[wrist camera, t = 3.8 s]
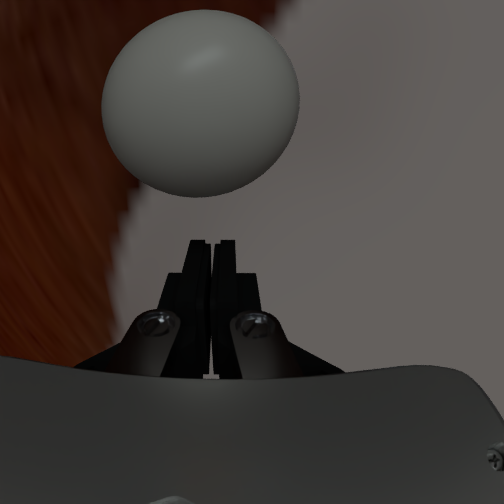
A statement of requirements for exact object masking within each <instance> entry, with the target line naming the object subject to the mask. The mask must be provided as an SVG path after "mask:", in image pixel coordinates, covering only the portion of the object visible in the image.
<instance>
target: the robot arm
mask: <svg viewBox="0 0 504 504" xmlns="http://www.w3.org/2000/svg"><path fill="white" fill-rule="evenodd" d="M211 339H212V354H213V355H212V356H213V371H214V374H219V379H203V374H209V363H210V343H211ZM0 504H504V420H503V418H502V417H501V415H500V413H499V412H498V410H497V409H496V407H495V406H494V404H493V403H492V401H491V400H490V398H489V397H488V396H487V394H486V393H485V392H484V391H483V389H482V388H481V387H480V386H479V385H478V384H477V383H476V382H475V381H474V380H473V379H472V378H471V377H469V376H468V375H467V374H465V373H463V372H461V371H458V370H455V369H451V368H446V367H439V366H432V365H410V366H397V367H389V368H381V369H372V370H363V371H355V372H344V371H342V370H341V369H339V368H338V367H336V366H334V365H332V364H330V363H328V362H326V361H324V360H322V359H320V358H318V357H316V356H314V355H313V354H311V353H309V352H307V351H305V350H303V349H302V348H300V347H298V346H296V345H294V344H292V343H291V342H289V341H288V340H287V338H286V335H285V333H284V331H283V329H282V327H281V324H280V322H279V321H278V320H277V318H276V317H274V316H273V315H272V314H270V313H267V312H264V311H262V310H261V303H260V297H259V290H258V284H257V277H256V273H236V254H235V240H221V243H220V244H215V248H214V259H213V270H212V273H211V244H205V240H191V241H190V244H189V247H188V251H187V255H186V258H185V262H184V266H183V270H182V273H169V274H168V276H167V279H166V282H165V285H164V288H163V291H162V294H161V298H160V301H159V304H158V307H157V309H154V310H149V311H146V312H143V313H142V314H140V315H139V316H137V317H136V318H135V320H134V321H133V323H132V324H131V326H130V328H129V329H128V331H127V333H126V334H125V336H124V338H123V339H122V341H121V342H120V343H118V344H117V345H115V346H113V347H111V348H109V349H107V350H105V351H103V352H101V353H99V354H97V355H95V356H93V357H91V358H89V359H87V360H85V361H83V362H81V363H79V364H77V365H76V366H74V367H67V366H61V365H56V364H50V363H45V362H40V361H34V360H28V359H22V358H17V357H11V356H1V355H0Z"/></svg>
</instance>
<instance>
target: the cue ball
mask: <svg viewBox="0 0 504 504" xmlns="http://www.w3.org/2000/svg"><path fill="white" fill-rule="evenodd" d="M299 101H300V96H299V87H298V81H297V77H296V73H295V70H294V68H293V65H292V63H291V61H290V59H289V57H288V56H287V54H286V52H285V51H284V49H283V48H282V46H281V45H280V44H279V43H278V41H277V40H276V39H275V38H274V37H273V36H272V35H270V34H269V33H268V32H267V31H266V30H265V29H263V28H262V27H260V26H259V25H257V24H256V23H254V22H252V21H250V20H248V19H246V18H244V17H241V16H238V15H235V14H232V13H227V12H223V11H215V10H193V11H186V12H181V13H177V14H174V15H171V16H168V17H165V18H163V19H161V20H158V21H156V22H154V23H153V24H151V25H149V26H148V27H146V28H145V29H143V30H142V31H140V32H139V33H138V34H137V35H136V36H134V37H133V38H132V39H131V40H130V41H129V42H128V43H127V44H126V46H125V47H124V48H123V49H122V50H121V52H120V53H119V55H118V56H117V57H116V59H115V61H114V63H113V65H112V66H111V68H110V71H109V73H108V76H107V78H106V81H105V85H104V89H103V95H102V120H103V126H104V130H105V133H106V137H107V140H108V142H109V144H110V146H111V148H112V150H113V152H114V153H115V155H116V157H117V158H118V160H119V161H120V162H121V163H122V164H123V166H124V167H125V168H126V169H127V170H128V171H129V172H130V173H131V174H133V175H134V176H135V177H136V178H138V179H139V180H141V181H142V182H143V183H145V184H147V185H149V186H151V187H153V188H155V189H157V190H160V191H163V192H165V193H168V194H172V195H177V196H183V197H209V196H217V195H221V194H225V193H228V192H232V191H234V190H236V189H239V188H241V187H243V186H245V185H247V184H249V183H251V182H252V181H254V180H255V179H257V178H258V177H260V176H261V175H262V174H264V173H265V172H266V171H267V170H268V169H269V168H270V167H271V166H272V165H273V164H274V163H275V162H276V161H277V159H278V158H279V157H280V156H281V154H282V153H283V151H284V150H285V148H286V147H287V145H288V143H289V141H290V139H291V137H292V135H293V132H294V129H295V126H296V123H297V119H298V113H299Z"/></svg>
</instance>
